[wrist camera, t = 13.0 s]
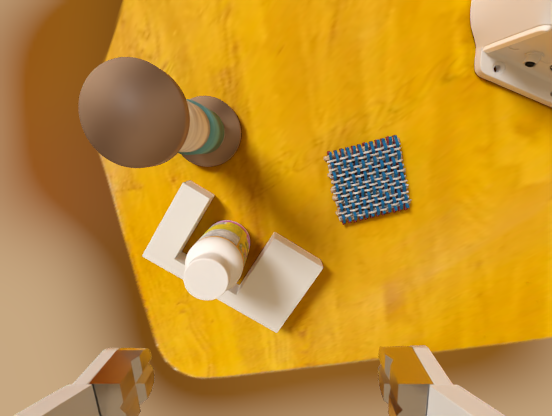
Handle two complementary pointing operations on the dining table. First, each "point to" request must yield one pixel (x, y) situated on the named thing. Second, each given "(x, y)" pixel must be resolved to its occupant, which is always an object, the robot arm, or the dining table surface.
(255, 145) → the dining table surface
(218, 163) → the bobbin
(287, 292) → the notched board
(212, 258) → the supplement bottle
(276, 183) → the dining table surface
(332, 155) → the woven mat
